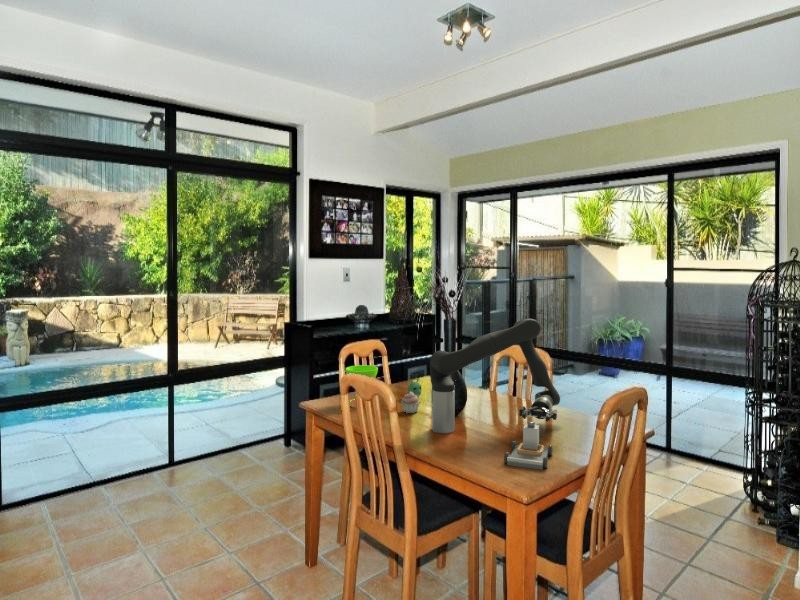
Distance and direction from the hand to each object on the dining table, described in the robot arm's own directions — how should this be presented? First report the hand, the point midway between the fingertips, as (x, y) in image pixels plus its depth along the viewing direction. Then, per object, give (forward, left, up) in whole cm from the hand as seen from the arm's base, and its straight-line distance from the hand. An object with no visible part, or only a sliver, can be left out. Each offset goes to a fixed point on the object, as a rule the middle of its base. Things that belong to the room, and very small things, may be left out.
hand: (535, 417), depth 212 cm
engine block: (-5, -10, -9) cm, 15 cm away
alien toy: (-41, +75, -11) cm, 86 cm away
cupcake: (-45, +49, -11) cm, 68 cm away
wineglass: (-68, +65, -11) cm, 95 cm away
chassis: (-6, -15, -11) cm, 19 cm away
